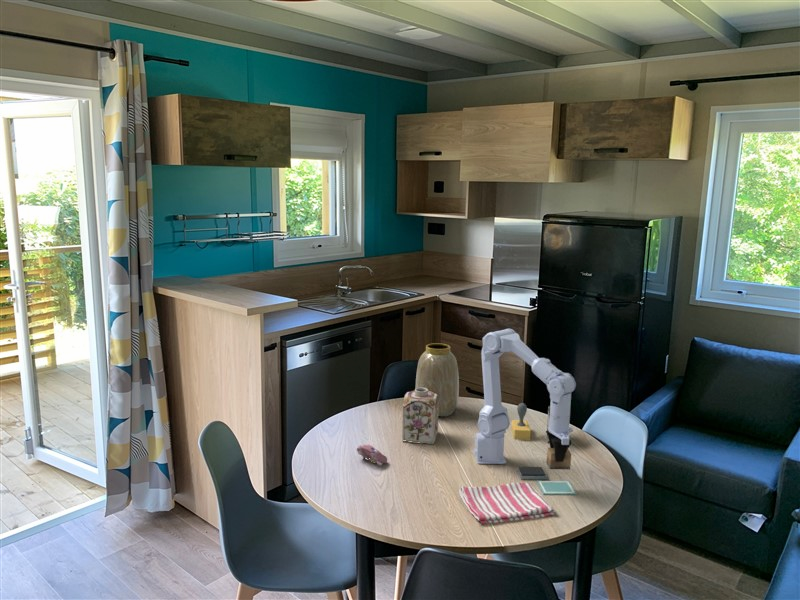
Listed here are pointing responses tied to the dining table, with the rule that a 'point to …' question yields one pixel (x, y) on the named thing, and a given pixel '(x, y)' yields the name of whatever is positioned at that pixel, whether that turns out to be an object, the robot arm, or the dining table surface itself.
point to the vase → (439, 376)
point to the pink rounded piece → (371, 453)
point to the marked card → (556, 488)
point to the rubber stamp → (521, 424)
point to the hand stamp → (558, 465)
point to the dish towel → (505, 503)
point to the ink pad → (531, 473)
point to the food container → (548, 420)
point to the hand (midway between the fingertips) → (557, 458)
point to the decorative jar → (420, 416)
